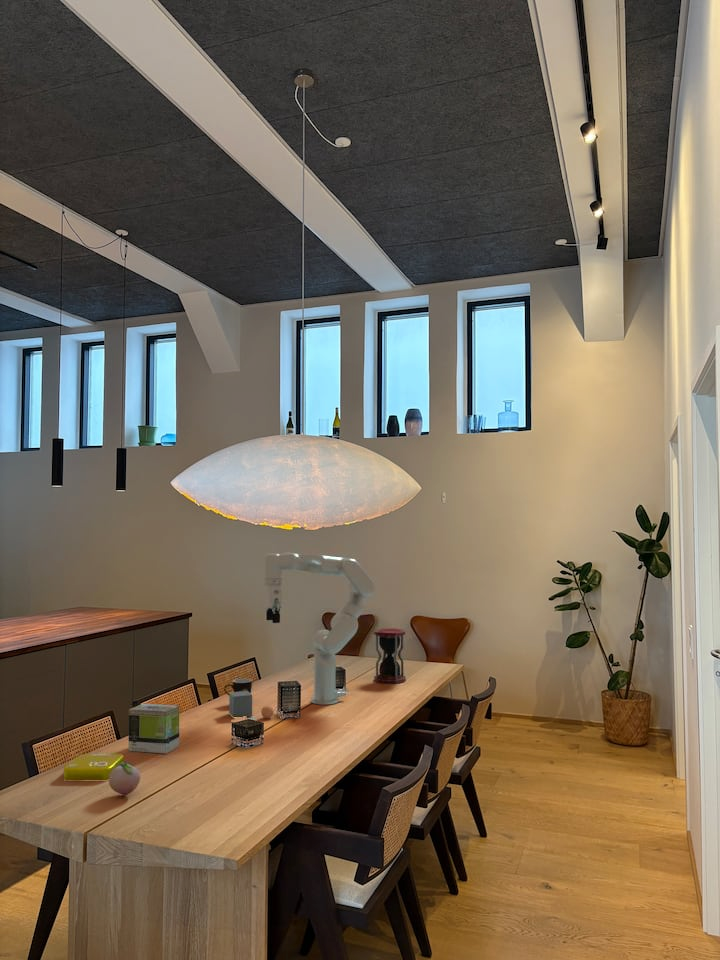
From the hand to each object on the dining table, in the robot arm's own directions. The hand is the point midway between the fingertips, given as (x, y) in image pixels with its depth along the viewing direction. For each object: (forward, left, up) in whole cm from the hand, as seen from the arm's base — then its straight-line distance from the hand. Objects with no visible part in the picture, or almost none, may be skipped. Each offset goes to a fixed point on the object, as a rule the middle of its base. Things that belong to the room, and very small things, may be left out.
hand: (273, 621), depth 327 cm
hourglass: (-69, -29, -37) cm, 83 cm away
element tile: (+76, +60, -38) cm, 104 cm away
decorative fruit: (+69, +85, -37) cm, 116 cm away
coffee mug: (+12, -12, -37) cm, 41 cm away
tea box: (+55, +41, -37) cm, 78 cm away
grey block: (+16, +8, -37) cm, 41 cm away
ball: (+7, +17, -34) cm, 39 cm away
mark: (+17, +17, -37) cm, 44 cm away
